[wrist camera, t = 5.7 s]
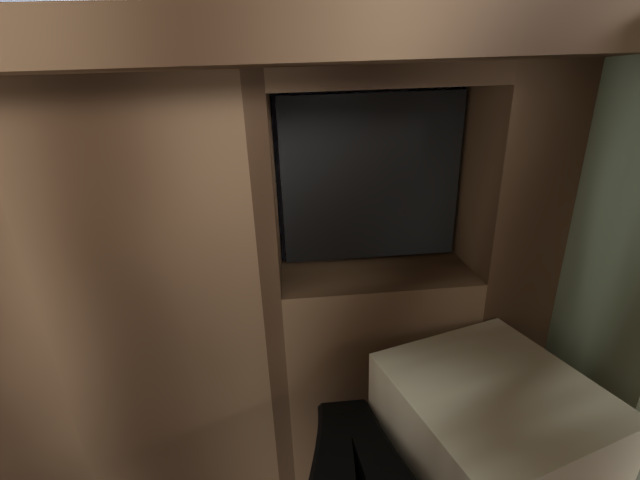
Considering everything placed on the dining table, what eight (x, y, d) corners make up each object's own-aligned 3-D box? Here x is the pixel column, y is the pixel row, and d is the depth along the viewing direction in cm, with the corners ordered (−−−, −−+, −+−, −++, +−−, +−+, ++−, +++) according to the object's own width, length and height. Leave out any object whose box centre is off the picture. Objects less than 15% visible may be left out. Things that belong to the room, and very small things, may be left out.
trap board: (579, 22, 11) (844, -37, 6) (489, 520, 18) (571, 692, 13) (-131, 40, 10) (-603, -15, 4) (78, 566, 17) (-12, 775, 12)
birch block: (497, 318, 11) (655, 422, 8) (481, 427, 12) (607, 558, 9) (368, 353, 10) (487, 501, 6) (367, 471, 11) (462, 645, 8)
